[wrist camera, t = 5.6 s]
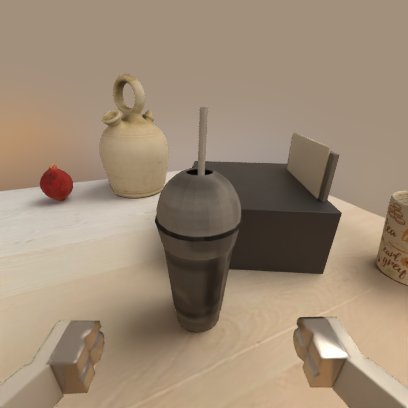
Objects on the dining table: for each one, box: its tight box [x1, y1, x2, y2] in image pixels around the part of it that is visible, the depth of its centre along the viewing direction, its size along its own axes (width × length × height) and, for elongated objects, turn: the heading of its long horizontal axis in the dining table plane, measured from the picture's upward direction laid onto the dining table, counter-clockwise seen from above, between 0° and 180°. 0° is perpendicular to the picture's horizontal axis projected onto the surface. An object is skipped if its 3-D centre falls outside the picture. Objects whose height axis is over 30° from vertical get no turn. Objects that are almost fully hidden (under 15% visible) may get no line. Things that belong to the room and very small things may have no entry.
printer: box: [192, 133, 342, 274], centre depth 36 cm, size 19×22×16 cm
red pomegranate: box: [40, 164, 73, 201], centre depth 47 cm, size 6×6×8 cm
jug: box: [99, 74, 169, 198], centre depth 51 cm, size 15×16×25 cm
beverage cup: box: [155, 107, 242, 332], centre depth 19 cm, size 7×7×20 cm
